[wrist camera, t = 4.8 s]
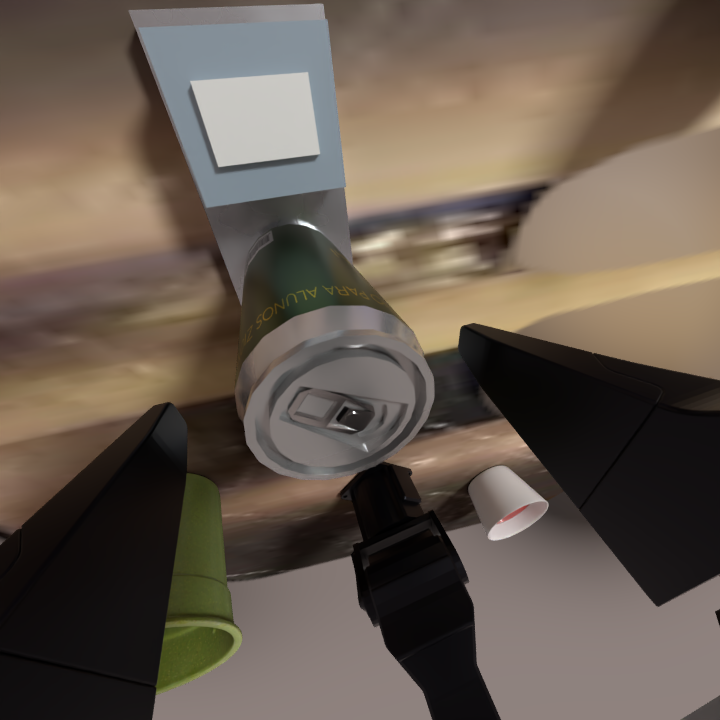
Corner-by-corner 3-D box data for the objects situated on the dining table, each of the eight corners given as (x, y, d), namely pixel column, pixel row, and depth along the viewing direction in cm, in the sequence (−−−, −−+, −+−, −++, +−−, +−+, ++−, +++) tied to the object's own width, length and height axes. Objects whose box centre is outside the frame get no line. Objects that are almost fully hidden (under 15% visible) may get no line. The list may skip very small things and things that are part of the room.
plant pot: (264, 458, 26) (269, 611, 17) (223, 531, 31) (211, 682, 22) (98, 441, 20) (-20, 659, 11) (78, 534, 25) (-19, 743, 16)
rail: (362, 375, 24) (366, 383, 23) (279, 399, 23) (280, 407, 22) (318, 13, 12) (323, 3, 11) (137, 20, 11) (128, 10, 10)
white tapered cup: (449, 497, 42) (475, 542, 37) (487, 457, 39) (521, 500, 34) (487, 497, 47) (515, 538, 42) (525, 461, 43) (560, 500, 38)
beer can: (229, 290, 16) (195, 473, 7) (271, 199, 14) (303, 276, 5) (312, 327, 19) (370, 492, 10) (356, 254, 17) (480, 371, 8)
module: (334, 183, 15) (347, 187, 13) (212, 200, 14) (205, 208, 12) (315, 41, 12) (329, 15, 10) (158, 49, 11) (134, 23, 9)
